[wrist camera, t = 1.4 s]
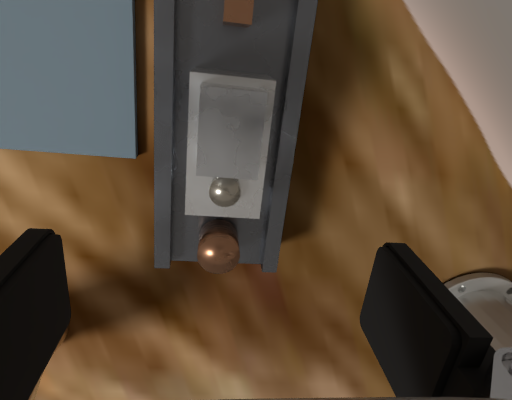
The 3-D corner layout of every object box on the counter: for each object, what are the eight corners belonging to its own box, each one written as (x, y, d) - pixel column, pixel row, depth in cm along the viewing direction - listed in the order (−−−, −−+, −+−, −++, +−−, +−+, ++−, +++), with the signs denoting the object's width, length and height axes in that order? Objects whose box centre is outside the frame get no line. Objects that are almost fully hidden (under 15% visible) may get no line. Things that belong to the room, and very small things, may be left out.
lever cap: (194, 67, 25) (186, 74, 19) (267, 74, 25) (281, 84, 19) (189, 189, 28) (181, 228, 22) (253, 193, 29) (262, 233, 23)
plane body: (164, -41, 24) (144, -72, 18) (307, -21, 26) (336, -42, 19) (162, 241, 33) (148, 289, 27) (269, 246, 34) (281, 293, 28)
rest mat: (134, -11, 25) (131, -13, 24) (137, 155, 30) (135, 158, 29) (-56, -37, 23) (-65, -40, 23) (-22, 143, 28) (-28, 146, 27)
